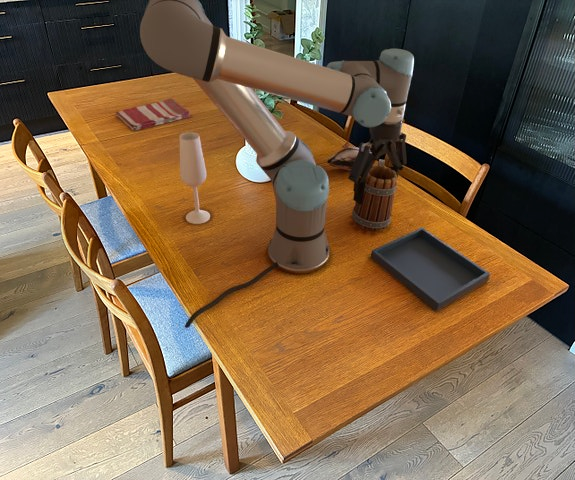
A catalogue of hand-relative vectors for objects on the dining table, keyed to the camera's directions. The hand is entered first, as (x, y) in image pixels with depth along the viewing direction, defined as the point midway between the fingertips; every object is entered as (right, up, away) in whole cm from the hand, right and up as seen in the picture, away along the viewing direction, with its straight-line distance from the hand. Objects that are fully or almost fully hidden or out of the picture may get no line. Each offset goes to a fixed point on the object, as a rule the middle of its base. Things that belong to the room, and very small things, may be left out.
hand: (373, 195), depth 126 cm
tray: (+11, -19, -11) cm, 25 cm away
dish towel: (-75, +35, +54) cm, 99 cm away
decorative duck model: (-3, +9, +24) cm, 26 cm away
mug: (0, -5, +5) cm, 7 cm away
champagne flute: (-48, -6, +3) cm, 48 cm away
